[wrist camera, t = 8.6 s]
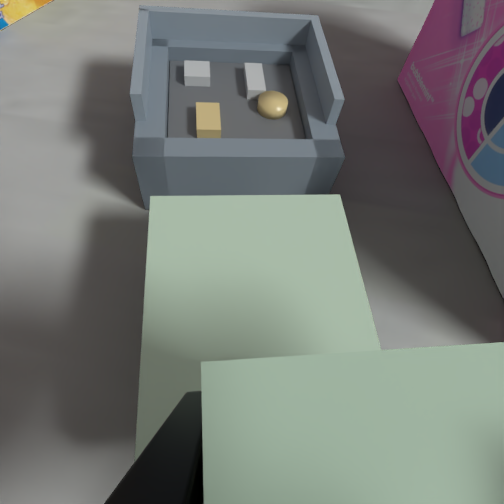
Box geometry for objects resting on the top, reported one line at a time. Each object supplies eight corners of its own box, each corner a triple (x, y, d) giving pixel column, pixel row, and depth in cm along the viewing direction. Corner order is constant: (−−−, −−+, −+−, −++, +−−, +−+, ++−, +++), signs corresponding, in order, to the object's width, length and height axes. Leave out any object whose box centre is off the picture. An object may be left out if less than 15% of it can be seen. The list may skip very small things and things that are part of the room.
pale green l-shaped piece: (403, 500, 12) (812, 555, 4) (137, 532, 11) (-74, 703, 3) (332, 210, 17) (435, -11, 9) (154, 213, 16) (101, -35, 8)
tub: (323, 207, 22) (355, 133, 17) (145, 209, 20) (125, 130, 16) (298, 97, 26) (318, 15, 22) (152, 93, 25) (139, 5, 20)
